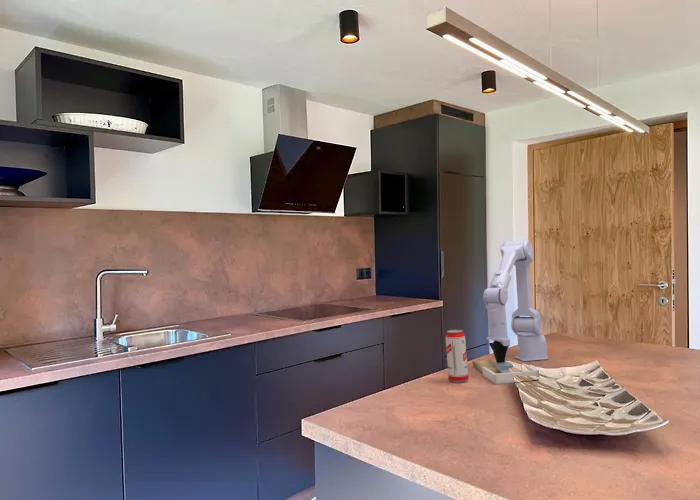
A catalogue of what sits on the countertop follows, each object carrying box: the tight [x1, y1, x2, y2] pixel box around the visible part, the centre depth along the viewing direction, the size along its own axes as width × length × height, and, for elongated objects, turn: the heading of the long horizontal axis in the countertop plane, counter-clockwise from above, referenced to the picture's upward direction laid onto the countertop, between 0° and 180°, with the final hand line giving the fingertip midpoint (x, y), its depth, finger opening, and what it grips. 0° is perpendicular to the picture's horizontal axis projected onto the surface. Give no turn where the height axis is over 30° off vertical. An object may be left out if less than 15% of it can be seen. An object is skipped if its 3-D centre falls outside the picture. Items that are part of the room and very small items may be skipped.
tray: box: [482, 362, 540, 385], centre depth 155 cm, size 14×11×3 cm
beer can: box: [445, 329, 469, 384], centre depth 157 cm, size 6×6×16 cm
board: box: [471, 358, 510, 375], centre depth 168 cm, size 12×14×2 cm
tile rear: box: [495, 362, 513, 371], centre depth 160 cm, size 4×4×2 cm
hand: (500, 364), depth 163 cm, fingers closed
